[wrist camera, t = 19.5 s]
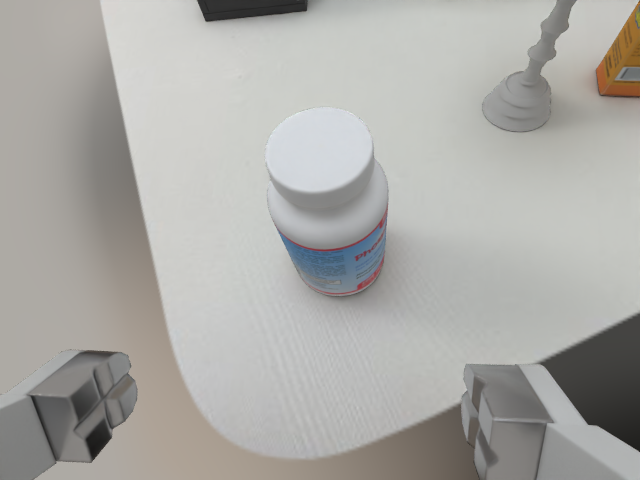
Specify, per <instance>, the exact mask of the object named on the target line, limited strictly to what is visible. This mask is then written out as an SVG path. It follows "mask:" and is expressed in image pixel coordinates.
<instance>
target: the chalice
mask: <svg viewBox="0 0 640 480" xmlns="http://www.w3.org/2000/svg"><path fill="white" fill-rule="evenodd" d="M575 2H576V0H557V2H556V6H555V8H554V9H553V11H552V12H551V13H550V15H549V16H548V18H547V19H545V20H544V21H543V22H542V23H541V29H542V34H541V39H540V40H539V42H538V43H537V44H536V45H534V46H532V47H531V48H529V50H528V55H529V57H530V61H529V66H528V68H527V69H526V70H525V71H520V72H516V73H514V74H512V75H510V76H508V77H506V78H504V79H503V80H502V81H501V82H500V84H499V85H498V86H497V87H495V88H494V89H493V91H492V92H491V93H490V94H489V95H488V96H486V97H485V100H484V102H483V112H484V114H485V116H486V118H487V119H488V120H489V121H490V122H491V123H492V124H494V125H496V126H498V127H500V128H502V129H505V130H509V131H519V132H524V131H529V130H534V129H536V128H538V127H540V126H542V125H543V124H544V123H545V122H546V121H547V120H548V119H549V116H550V113H551V111H550V103H551V99H550V95H551V88H550V86H549V84H548V82H547V81H546V79H545V78H544V77H542V76H541V75H540V73H541V69H542V67H543V66H544V65H545V63H546V62H547V61H549V60H551V59H553V58H554V57H555V56H556V50H555V49H554V45H555V40H556V39H557V38H558V37H559V36H560V34H561V33H563V32H565V31H566V30H567V29H568V28H569V24H568V18H569V14H570V11H571V7H572V6H573V5H574V3H575Z"/></svg>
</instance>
